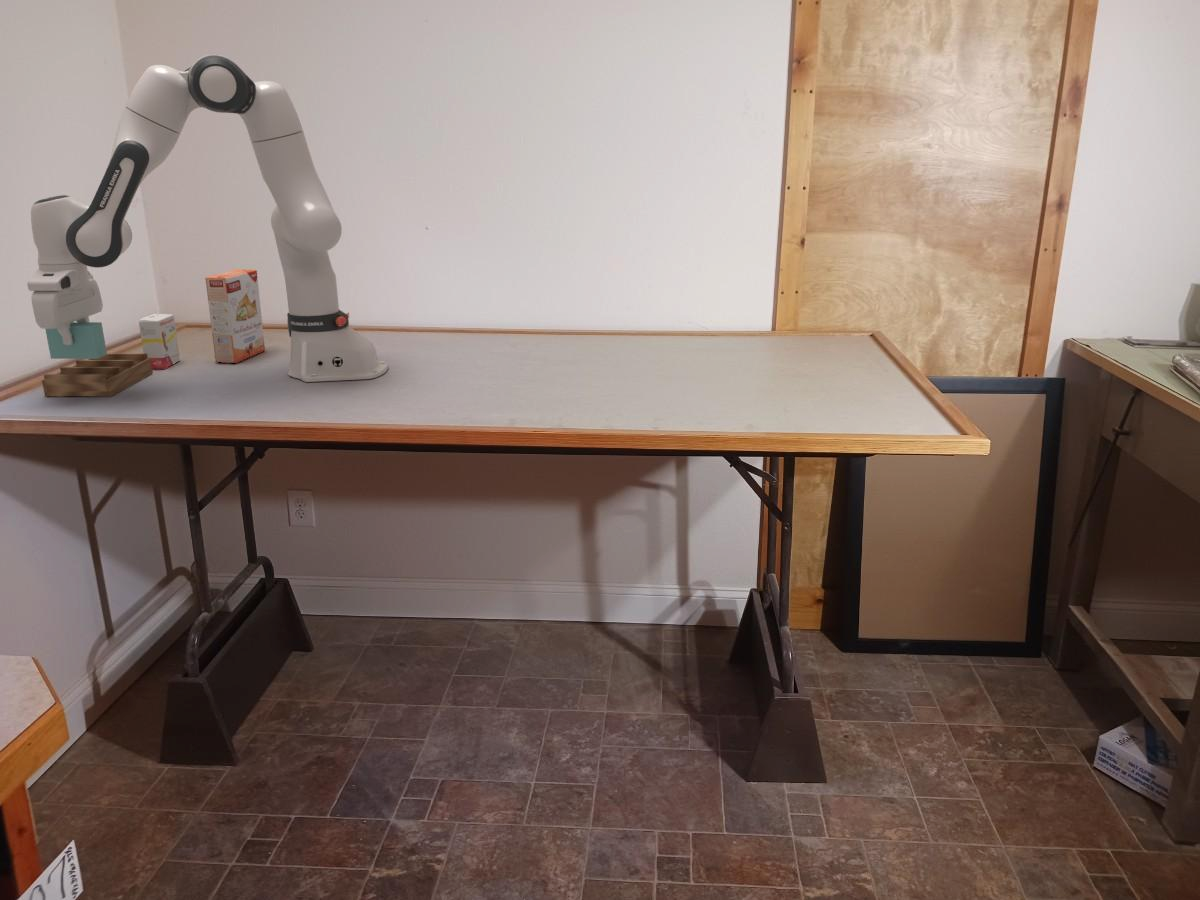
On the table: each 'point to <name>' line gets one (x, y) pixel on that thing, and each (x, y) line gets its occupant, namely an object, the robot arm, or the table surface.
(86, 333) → the teal block
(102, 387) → the rack
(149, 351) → the ink box
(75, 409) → the table surface
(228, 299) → the cracker box
